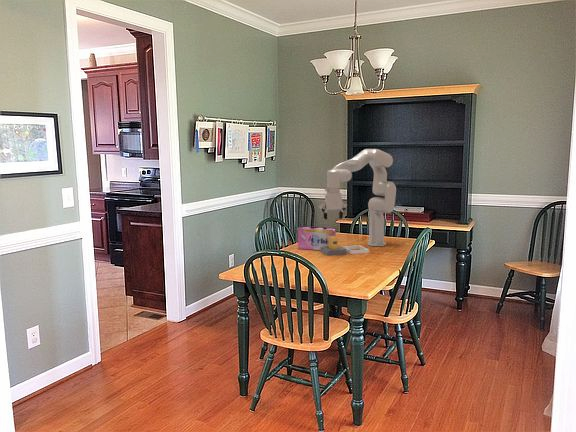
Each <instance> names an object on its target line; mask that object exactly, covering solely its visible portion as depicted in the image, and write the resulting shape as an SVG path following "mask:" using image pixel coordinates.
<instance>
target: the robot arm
mask: <svg viewBox="0 0 576 432" xmlns="http://www.w3.org/2000/svg"><path fill="white" fill-rule="evenodd" d="M393 162H394V158H393V156H392V155H391V154H390V153H387V152H385V151H383V150H381V149H378V148H364V149H363V150H361V151H360V152H359V153H358V154H356V155H354V156H353V157H352V158H351V159H348V160H346V161H343V162H340V163H339V164H337V165H335V166H334V167H333V168H332V169H329V170H327V174H326V175H327V176H326V180H327V181H326V186H327V187H326V188H325V189H324V191H325V198H324V203H322V204H319V205H318V206H319V208H320V211H322V213H323V219H324V220H328V213H327V212H328V211H338V210H339V212H338V213H339V214H338V217H339V219H341V220H342V219H343V217H344V214H343V213H344V211H345V210H346V208H347V206H348V204H346V203H345V202H343V196H342V193H341V192H340V191H341V188H340V186H341V184H340V183H341V182H342V183H343V182H344V183H346V182H349V181H351V179H352V177H353V175H352V173H353V172H354V173H355V172H357V171H360V170H362V169H363V168H364V167H365V166H367V165H368V164H369V166H370V168H371V169H372V170H373V171H372V172H373V182H372V194H374V195H375V196H374V197H372V198H370V199H369V201H368V203H367V205H368V206H367V207H368V212H369V228H368V229H369V230H368V231H369V232H368V233H369V236H368V240H369V241H367V242H366V245H367V246H370V247H371V246H372V247H384V246H387V242H385V240H384V239H385V217H384V214H390V213H392V212H393V211H394V209H395V204H396V197H397V195H396V194H397V187H396V184H395V183H394V182H393V181H389V180H387V179H388V173H387V170H386V168H390V167H391V166H392V165H393ZM377 196H378V197H377ZM379 196H381V197H379ZM323 207H324V208H323Z"/></svg>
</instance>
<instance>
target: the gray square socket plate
mask: <svg viewBox="0 0 576 432" xmlns="http://www.w3.org/2000/svg"><path fill="white" fill-rule="evenodd" d="M320 252H321V253H322V254H324V255H325V256H326V257H329V256H331V257H333V256H341V255H343V256H344V255H345V256H346V255H347V252H346V249H344V248H342V246H340V245H338V249H335V250H331V249H329V248H328V246H327V247H321V250H320Z"/></svg>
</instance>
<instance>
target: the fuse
mask: <svg viewBox="0 0 576 432" xmlns="http://www.w3.org/2000/svg"><path fill="white" fill-rule="evenodd" d="M338 246H339V237H338V236H328V248H329V249H331V250H335V249H338Z"/></svg>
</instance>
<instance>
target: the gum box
mask: <svg viewBox="0 0 576 432" xmlns="http://www.w3.org/2000/svg"><path fill="white" fill-rule="evenodd" d="M336 231H337V229H336V227H325V226H309V225H307V226H305V225H301V226H299V227H297V249H299V250H300V249H301V250H311V251H313V250H314V251H321V247H327V246H328V236H336V234H337V232H336ZM336 237H337V236H336Z"/></svg>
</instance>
